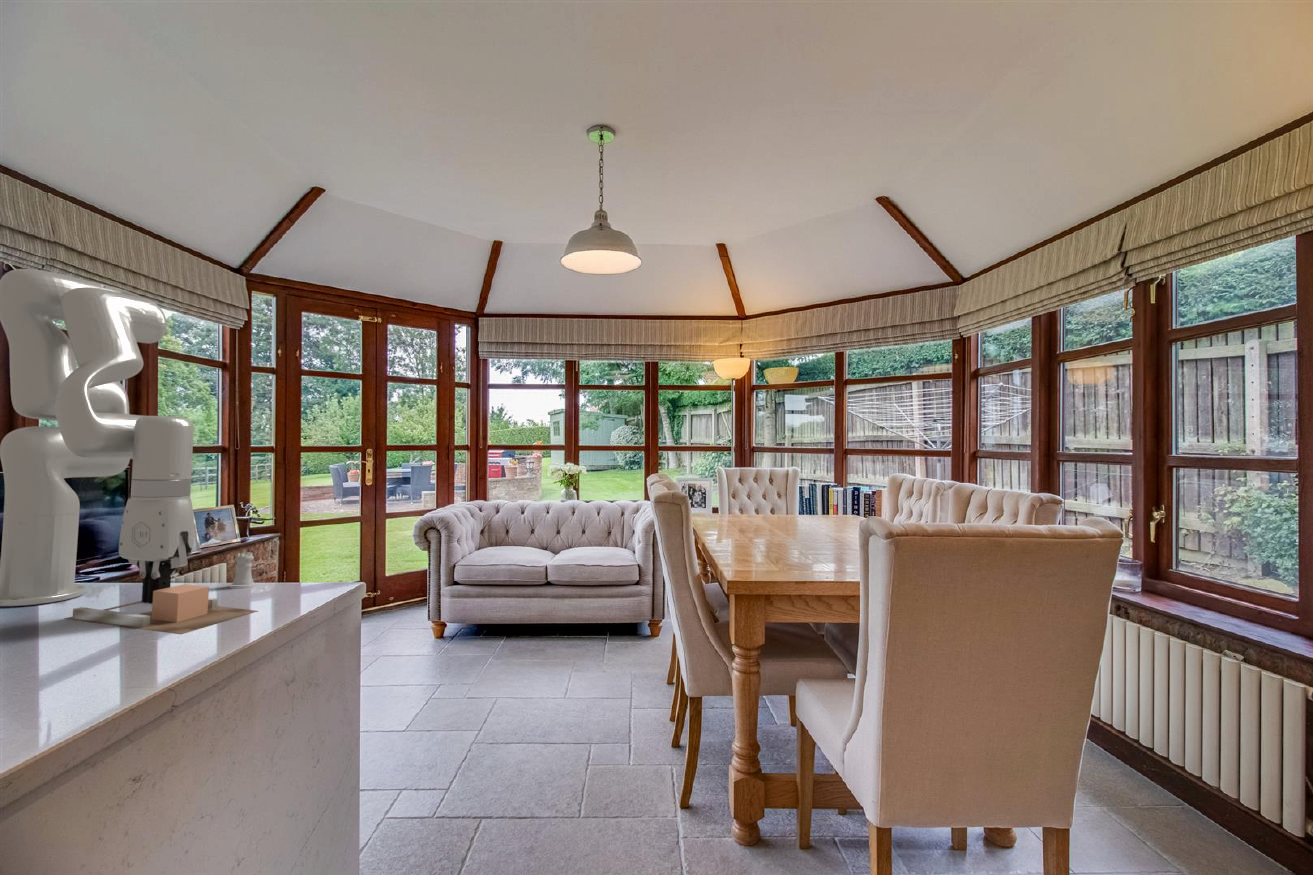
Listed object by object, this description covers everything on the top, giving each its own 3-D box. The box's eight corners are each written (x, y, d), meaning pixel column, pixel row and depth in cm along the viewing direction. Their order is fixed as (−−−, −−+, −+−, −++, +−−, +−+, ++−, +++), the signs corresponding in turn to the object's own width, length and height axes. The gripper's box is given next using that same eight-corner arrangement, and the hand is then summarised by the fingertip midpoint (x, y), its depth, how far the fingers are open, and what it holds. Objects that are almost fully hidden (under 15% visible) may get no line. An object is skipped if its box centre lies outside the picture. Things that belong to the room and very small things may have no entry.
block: (151, 619, 91) (153, 590, 91) (183, 610, 96) (184, 584, 96) (176, 622, 90) (178, 593, 90) (207, 613, 95) (209, 586, 95)
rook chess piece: (261, 591, 116) (263, 552, 116) (243, 597, 111) (245, 556, 111) (241, 590, 116) (243, 550, 116) (222, 595, 112) (224, 554, 112)
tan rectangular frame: (63, 627, 90) (64, 608, 90) (151, 606, 102) (152, 590, 103) (180, 644, 85) (182, 623, 85) (258, 619, 98) (259, 602, 98)
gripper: (100, 489, 93) (94, 603, 92) (174, 493, 90) (168, 610, 89) (149, 487, 100) (144, 592, 99) (219, 490, 97) (214, 599, 96)
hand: (155, 600), depth 94 cm, fingers closed
